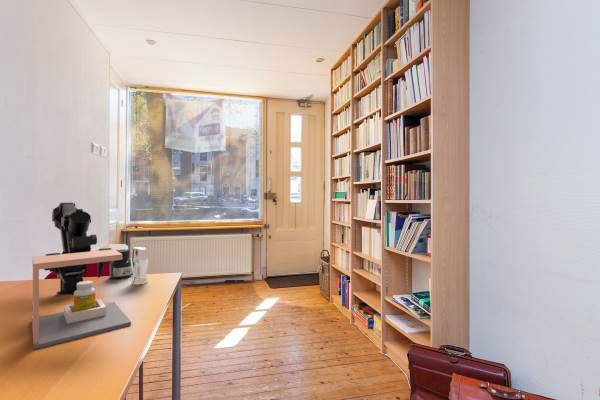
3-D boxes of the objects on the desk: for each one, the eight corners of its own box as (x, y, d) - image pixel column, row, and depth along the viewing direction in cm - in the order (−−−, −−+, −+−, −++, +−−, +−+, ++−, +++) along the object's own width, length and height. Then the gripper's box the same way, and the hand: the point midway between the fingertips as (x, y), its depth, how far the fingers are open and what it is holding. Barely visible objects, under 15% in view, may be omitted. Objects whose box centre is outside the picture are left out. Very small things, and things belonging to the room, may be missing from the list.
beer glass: (152, 281, 131) (152, 247, 131) (139, 286, 124) (139, 249, 124) (140, 280, 133) (140, 246, 133) (126, 284, 126) (126, 248, 126)
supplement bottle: (77, 319, 88) (77, 286, 88) (71, 315, 91) (70, 283, 91) (98, 313, 92) (98, 281, 92) (91, 309, 95) (91, 279, 95)
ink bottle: (115, 280, 132) (115, 253, 132) (104, 277, 137) (104, 251, 137) (136, 275, 141) (136, 250, 140) (126, 273, 145) (126, 248, 145)
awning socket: (31, 321, 89) (31, 251, 88) (114, 304, 103) (114, 244, 103) (33, 349, 72) (33, 264, 72) (131, 325, 87) (131, 254, 86)
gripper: (44, 229, 96) (47, 270, 88) (112, 225, 109) (119, 261, 101) (42, 250, 102) (45, 290, 94) (107, 244, 115) (114, 279, 107)
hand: (82, 279), depth 99 cm, fingers open, 9 cm apart
